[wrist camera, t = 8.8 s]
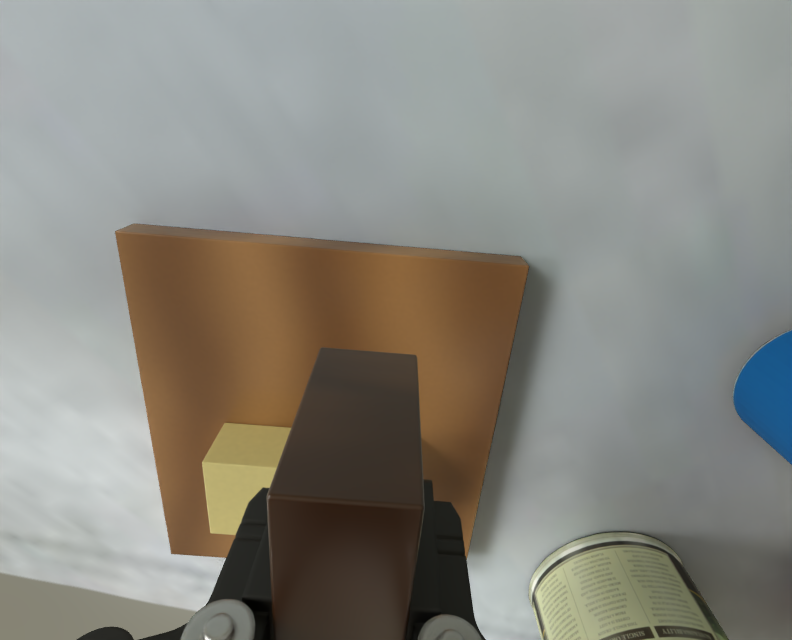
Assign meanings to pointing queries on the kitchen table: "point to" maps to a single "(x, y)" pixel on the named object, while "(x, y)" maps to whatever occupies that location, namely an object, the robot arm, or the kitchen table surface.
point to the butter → (239, 471)
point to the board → (310, 347)
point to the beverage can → (768, 393)
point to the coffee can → (619, 592)
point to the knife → (348, 501)
